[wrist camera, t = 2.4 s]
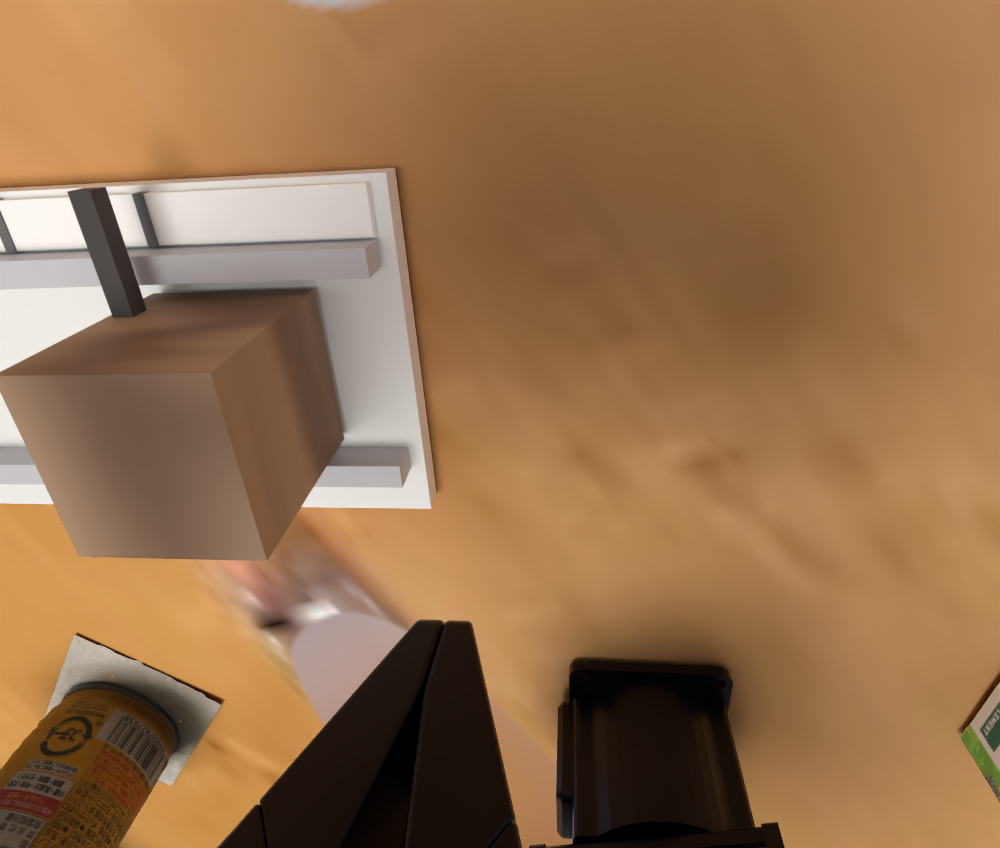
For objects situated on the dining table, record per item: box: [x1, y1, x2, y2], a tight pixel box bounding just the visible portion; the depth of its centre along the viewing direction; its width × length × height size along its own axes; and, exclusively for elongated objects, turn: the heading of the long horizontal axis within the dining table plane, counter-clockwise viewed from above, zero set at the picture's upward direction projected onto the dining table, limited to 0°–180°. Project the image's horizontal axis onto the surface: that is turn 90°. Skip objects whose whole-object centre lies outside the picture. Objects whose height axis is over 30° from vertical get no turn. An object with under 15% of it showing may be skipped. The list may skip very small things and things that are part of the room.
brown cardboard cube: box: [0, 187, 344, 561], centre depth 16 cm, size 5×8×6 cm, turn 3°
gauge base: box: [0, 168, 436, 509], centre depth 19 cm, size 23×11×6 cm, turn 93°
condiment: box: [0, 635, 221, 848], centre depth 26 cm, size 7×8×12 cm
